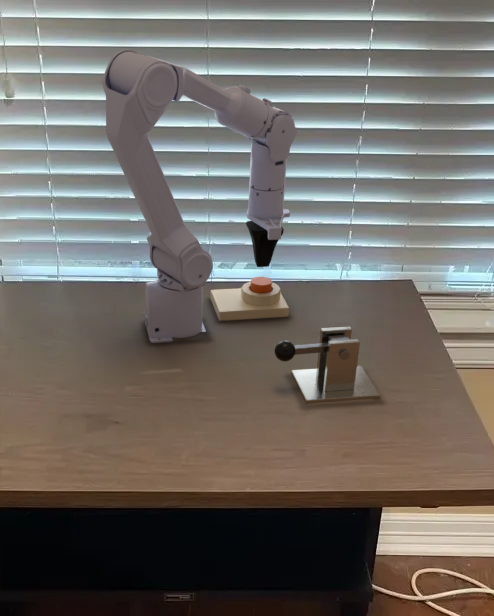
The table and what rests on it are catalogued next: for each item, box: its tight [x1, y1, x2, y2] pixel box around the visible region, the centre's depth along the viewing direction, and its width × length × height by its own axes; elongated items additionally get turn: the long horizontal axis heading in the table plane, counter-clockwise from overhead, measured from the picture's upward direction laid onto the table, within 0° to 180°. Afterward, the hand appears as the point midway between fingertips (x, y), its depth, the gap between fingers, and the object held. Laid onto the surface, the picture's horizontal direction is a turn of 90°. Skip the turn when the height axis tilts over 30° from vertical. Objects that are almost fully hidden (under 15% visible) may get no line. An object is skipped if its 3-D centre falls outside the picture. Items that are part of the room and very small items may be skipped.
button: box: [250, 276, 273, 293], centre depth 158 cm, size 4×4×2 cm
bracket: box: [290, 326, 381, 404], centre depth 135 cm, size 11×9×9 cm
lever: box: [274, 335, 350, 362], centre depth 133 cm, size 11×3×3 cm, turn 98°
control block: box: [209, 281, 290, 322], centre depth 159 cm, size 12×9×4 cm
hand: (262, 265), depth 156 cm, fingers closed
